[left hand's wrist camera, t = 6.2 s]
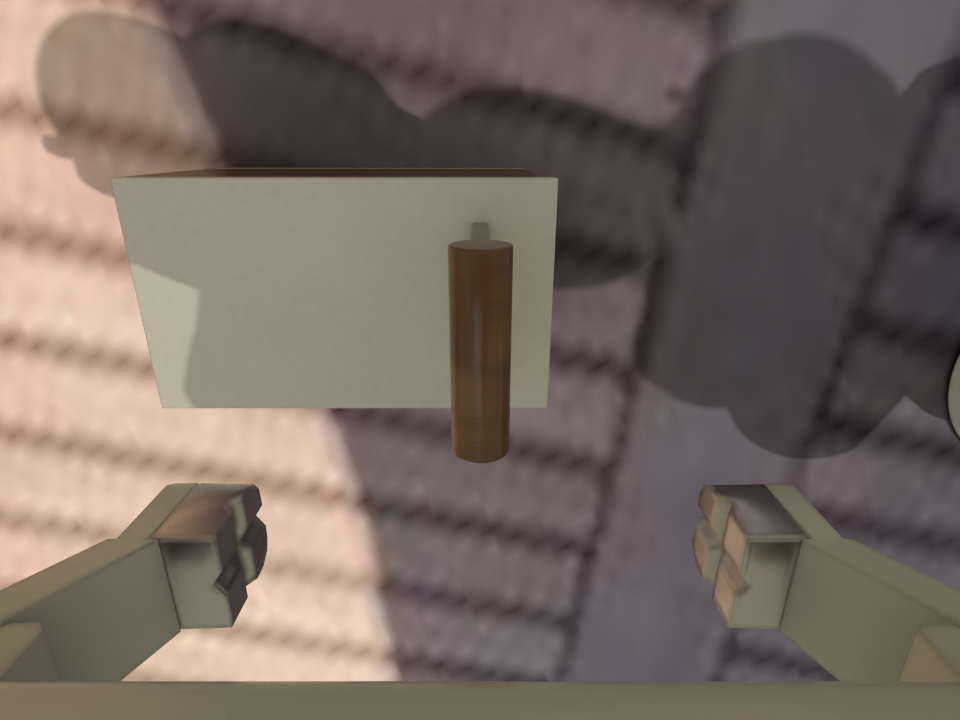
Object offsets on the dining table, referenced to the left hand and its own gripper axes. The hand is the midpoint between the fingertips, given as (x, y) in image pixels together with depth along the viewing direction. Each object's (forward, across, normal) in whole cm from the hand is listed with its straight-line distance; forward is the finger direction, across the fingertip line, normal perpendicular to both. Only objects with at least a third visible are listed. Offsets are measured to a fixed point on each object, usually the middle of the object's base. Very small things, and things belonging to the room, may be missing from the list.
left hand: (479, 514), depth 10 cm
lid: (+16, -6, 0) cm, 17 cm away
